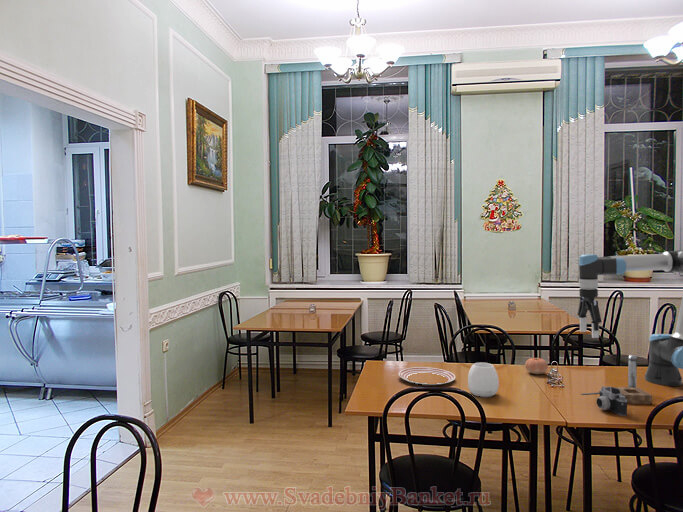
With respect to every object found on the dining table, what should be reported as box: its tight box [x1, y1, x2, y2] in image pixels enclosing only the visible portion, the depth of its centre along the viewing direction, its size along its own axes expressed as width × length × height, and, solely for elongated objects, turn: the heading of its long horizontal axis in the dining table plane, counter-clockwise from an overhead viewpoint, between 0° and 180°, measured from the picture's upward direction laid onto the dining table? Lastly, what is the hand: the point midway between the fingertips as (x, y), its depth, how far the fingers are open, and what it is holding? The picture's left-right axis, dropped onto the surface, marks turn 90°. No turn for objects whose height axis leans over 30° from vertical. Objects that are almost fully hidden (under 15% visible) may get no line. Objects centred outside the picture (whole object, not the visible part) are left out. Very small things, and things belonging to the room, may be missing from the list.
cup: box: [467, 362, 500, 398], centre depth 221 cm, size 13×13×14 cm
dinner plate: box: [398, 366, 456, 386], centre depth 244 cm, size 28×27×3 cm
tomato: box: [524, 357, 549, 375], centre depth 254 cm, size 11×11×8 cm
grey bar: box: [627, 354, 638, 387], centre depth 224 cm, size 3×3×16 cm
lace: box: [580, 391, 600, 396], centre depth 221 cm, size 14×1×1 cm, turn 100°
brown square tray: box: [612, 386, 653, 405], centre depth 213 cm, size 11×11×4 cm
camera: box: [596, 385, 628, 417], centre depth 200 cm, size 16×8×10 cm, turn 4°
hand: (589, 334), depth 227 cm, fingers open, 13 cm apart
